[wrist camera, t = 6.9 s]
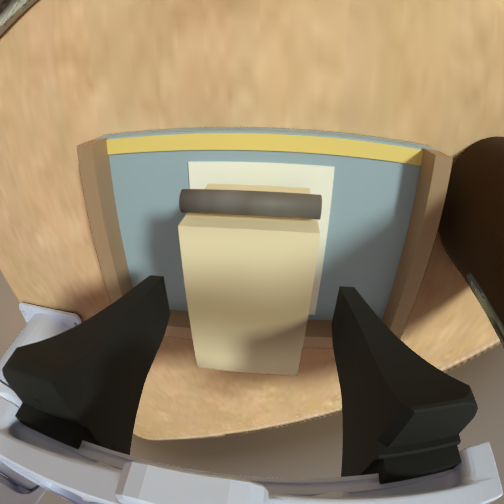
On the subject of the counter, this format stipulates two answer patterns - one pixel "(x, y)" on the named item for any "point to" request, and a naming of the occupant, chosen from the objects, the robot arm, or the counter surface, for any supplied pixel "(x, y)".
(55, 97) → the counter surface
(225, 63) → the counter surface
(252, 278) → the beige block with rod
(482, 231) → the olive oil
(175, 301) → the dock
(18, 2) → the packaged product
